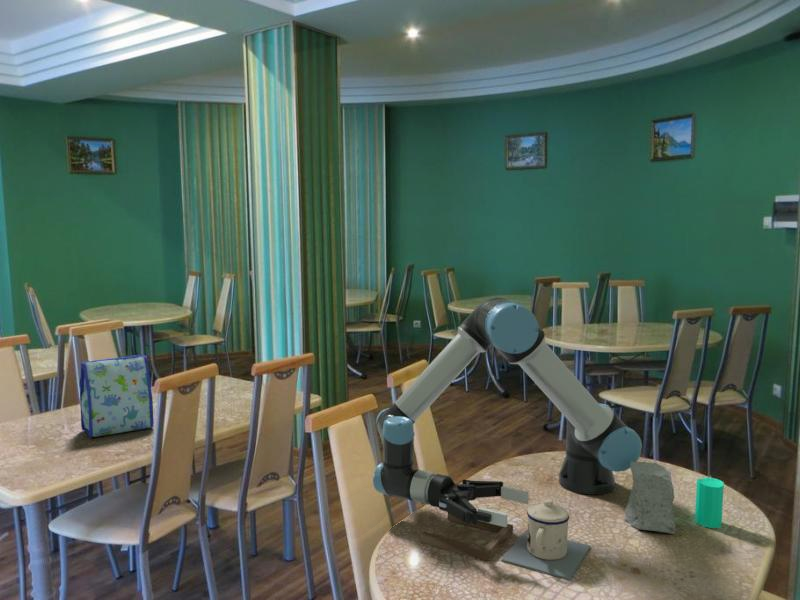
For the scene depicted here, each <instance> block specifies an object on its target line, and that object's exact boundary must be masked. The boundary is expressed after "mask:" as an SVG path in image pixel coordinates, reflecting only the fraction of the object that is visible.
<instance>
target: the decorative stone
mask: <svg viewBox="0 0 800 600" xmlns="http://www.w3.org/2000/svg"><path fill="white" fill-rule="evenodd" d="M629 469H630V471H631V475H632V481H633V482H632V488H631V490H630V495H629V497H628V501H627V505H626V507H625V511H624V521H625V522H626V523H628V524H629V526H630V527H633V528H634V529H636V530H639V531H650V532H651V531H652V532H653V531H654V532H655V533H663V534H668V535H674V534H676V523H675V519H674V512H673V510H674V504H673V503H674V499H675V494H674V493H675V492H674V489H675V488H674V484H673V481H672V475H671V471H670V470H668V469H667V468H666V467H665V466H663V465H661V464H658V463H657V462H650V461H648V462H646V461H637V462H632V461H631V462H630V468H629Z"/></svg>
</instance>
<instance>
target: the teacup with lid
mask: <svg viewBox="0 0 800 600" xmlns="http://www.w3.org/2000/svg"><path fill="white" fill-rule="evenodd" d="M526 515H527V530H528V533H527V549H528V551H529V552H530V553H531V554H532V555H533V556H535V557H538V558H541V559H545V560H557V559H561V558H563V557H564V556H565V555H566V553H567V540H568V531H569V530H568V529H569V520H570V514H569V512H568V510H566V508H564V507H562V506H561V505H558V504H556V503H554V501H553V500H552V499H551V498H550V499H549V498H547V499H544V500H543V502H539V503H535V504H532V505H531V506H529V507H528V509H527V511H526Z"/></svg>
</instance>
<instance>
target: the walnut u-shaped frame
mask: <svg viewBox="0 0 800 600" xmlns="http://www.w3.org/2000/svg"><path fill="white" fill-rule="evenodd" d="M447 520H448V521H452V522H456V523H458V524H459V523H460V524H465V525H468V526H472V527H476V528H480V529H484V530H487V531H490V532H495V533H496V535H495V536H494V537H493V538H492V539H491V540H490V541H489V542H488V543H487V544H486V545H485V546H480V545H477V544H472V543H469V542H466V541H462V540H458V539H455V538H451V537H448V536H443V535H440V534H437V533H432V532H429V531H425V530H424V531H423V532H421V533H420V541H421V543H424V544H426V545H430V546H433V547H437V548H440V549H441V548H442V549H444V550H447V551H452V552H455V553H458V554H462V555H465V556H469V557H472V558H477V559H480V560H482V561H490V560H491V558H492V557H493V556H494V554H496V552H498V551H499V549H500V548H501V547H502V546H503V545H504V543H506V541H507V540H508V539H509V538H510V537H511V536H512V535H513V534H514V524H511V523H507V527H502V526H498V525H494V524H490V523H486V522H482V521H478V520H477V524H475V525H474V524H471V523H470V524H467V523H465V522H463V521H461V520H460V519H458V518H456V517H455V516H453V515H451V514H450V513H448V512H447Z"/></svg>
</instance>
